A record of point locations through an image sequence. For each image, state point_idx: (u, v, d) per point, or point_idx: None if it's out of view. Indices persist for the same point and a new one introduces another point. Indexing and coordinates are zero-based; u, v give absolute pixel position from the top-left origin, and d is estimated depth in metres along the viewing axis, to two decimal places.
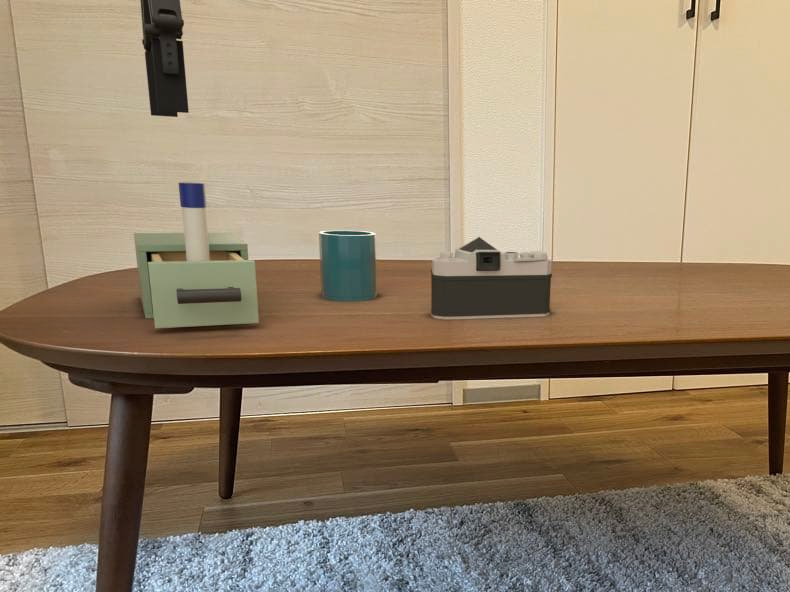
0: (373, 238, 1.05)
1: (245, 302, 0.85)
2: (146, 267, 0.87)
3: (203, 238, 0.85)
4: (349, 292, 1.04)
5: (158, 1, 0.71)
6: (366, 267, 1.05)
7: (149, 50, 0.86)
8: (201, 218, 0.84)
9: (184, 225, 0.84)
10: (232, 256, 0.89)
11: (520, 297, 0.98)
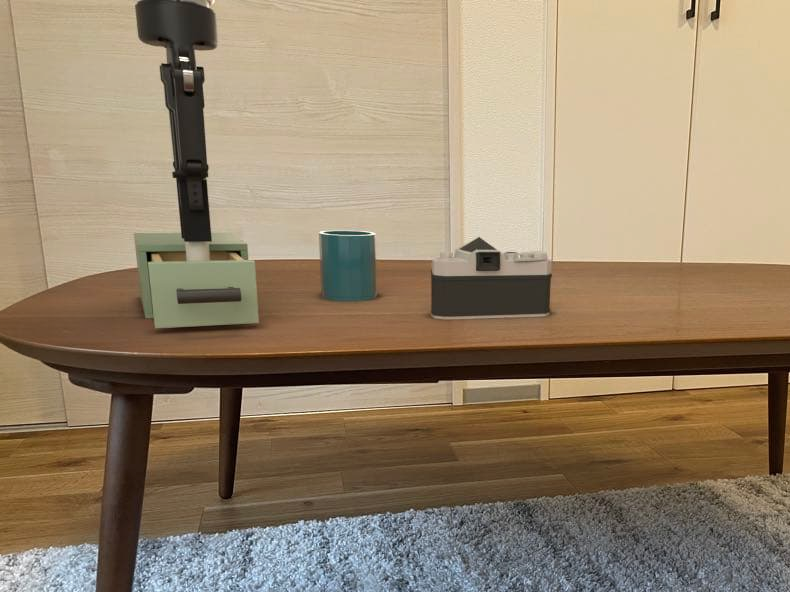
0: (373, 238, 1.05)
1: (245, 302, 0.85)
2: (146, 267, 0.87)
3: None
4: (349, 292, 1.04)
5: (186, 152, 0.78)
6: (366, 267, 1.05)
7: None
8: None
9: None
10: (232, 256, 0.89)
11: (519, 297, 0.98)
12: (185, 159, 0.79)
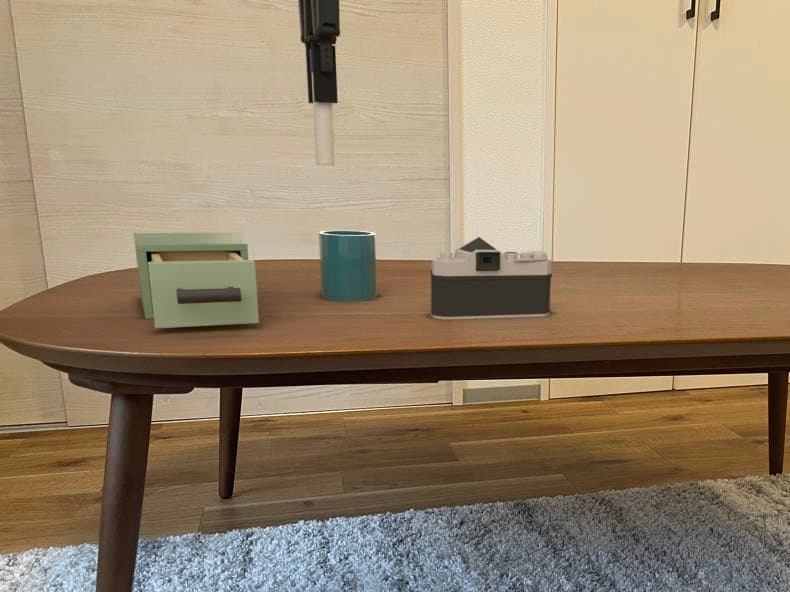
0: (373, 238, 1.05)
1: (245, 302, 0.85)
2: (146, 267, 0.87)
3: None
4: (349, 292, 1.04)
5: (323, 16, 0.90)
6: (366, 267, 1.05)
7: (309, 45, 0.97)
8: None
9: (313, 88, 0.96)
10: (232, 256, 0.89)
11: (519, 297, 0.98)
12: (322, 22, 0.90)
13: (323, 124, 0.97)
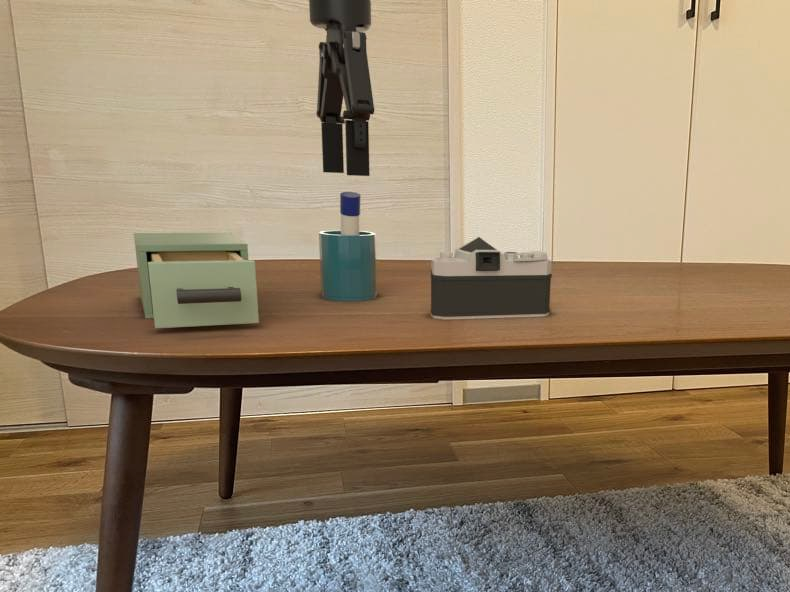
0: (373, 238, 1.05)
1: (245, 302, 0.85)
2: (146, 267, 0.87)
3: None
4: (349, 292, 1.04)
5: (357, 94, 0.92)
6: (366, 267, 1.05)
7: (324, 120, 1.06)
8: (356, 224, 1.02)
9: (342, 228, 1.02)
10: (232, 256, 0.89)
11: (519, 297, 0.98)
12: (356, 99, 0.92)
13: None
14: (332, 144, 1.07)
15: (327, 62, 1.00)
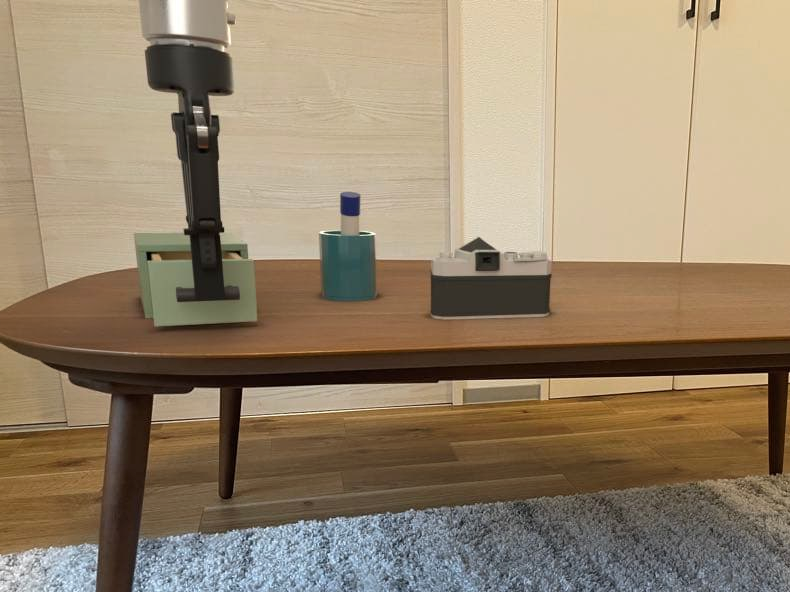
0: (373, 238, 1.05)
1: (243, 300, 0.85)
2: (146, 267, 0.87)
3: None
4: (349, 292, 1.04)
5: (199, 210, 0.73)
6: (366, 267, 1.05)
7: None
8: (356, 224, 1.02)
9: (342, 228, 1.02)
10: (231, 255, 0.90)
11: (519, 297, 0.98)
12: (198, 217, 0.73)
13: None
14: None
15: None
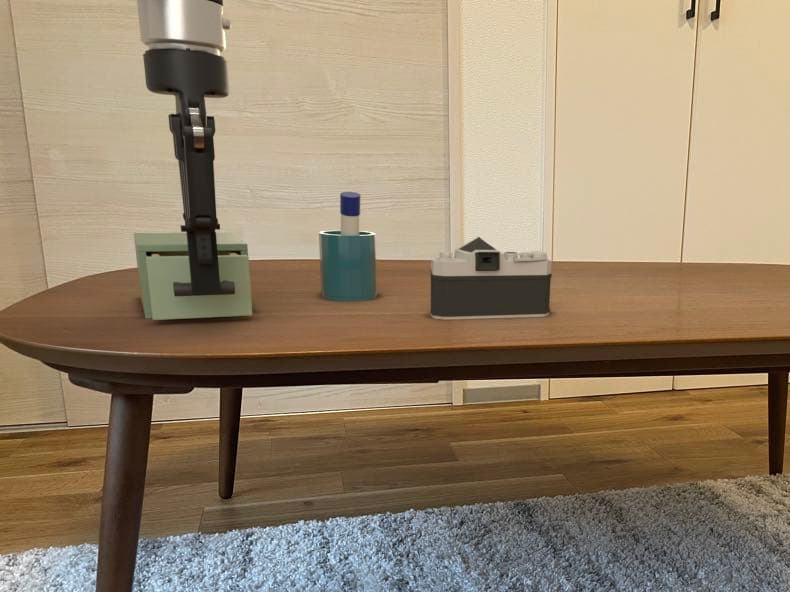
0: (373, 238, 1.05)
1: (239, 295, 0.88)
2: (146, 267, 0.87)
3: None
4: (349, 292, 1.04)
5: (195, 208, 0.76)
6: (366, 267, 1.05)
7: None
8: (356, 224, 1.02)
9: (342, 228, 1.02)
10: (227, 251, 0.93)
11: (519, 297, 0.98)
12: (194, 215, 0.76)
13: None
14: None
15: None
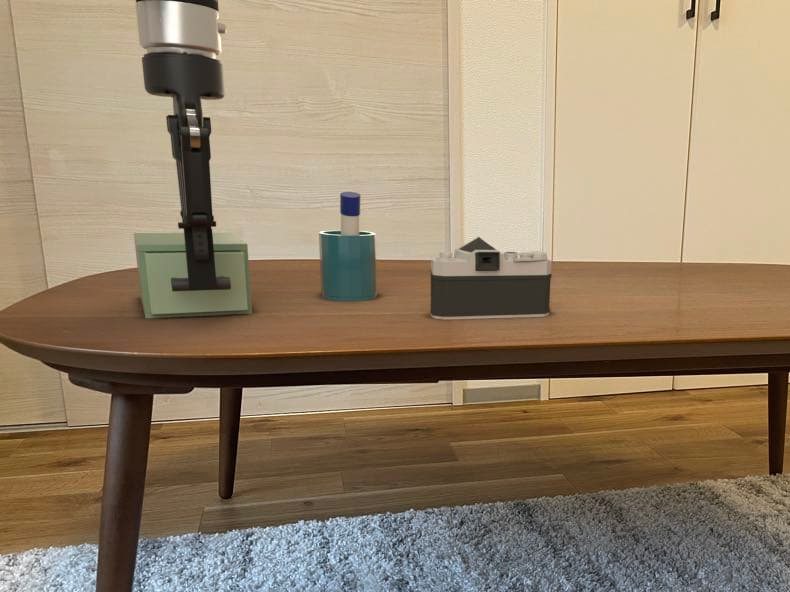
0: (373, 238, 1.05)
1: (234, 290, 0.91)
2: None
3: None
4: (349, 292, 1.04)
5: (192, 205, 0.79)
6: (366, 267, 1.05)
7: None
8: (356, 224, 1.02)
9: (342, 228, 1.02)
10: None
11: (519, 297, 0.98)
12: (191, 212, 0.79)
13: None
14: None
15: None
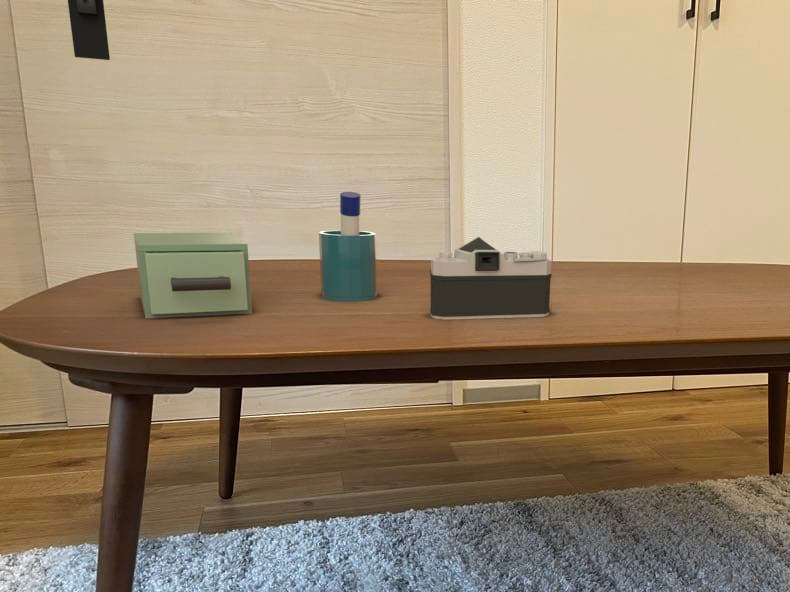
0: (373, 238, 1.05)
1: (234, 290, 0.91)
2: None
3: None
4: (349, 292, 1.04)
5: None
6: (366, 267, 1.05)
7: None
8: (356, 224, 1.02)
9: (342, 228, 1.02)
10: None
11: (519, 297, 0.98)
12: None
13: None
14: None
15: None
